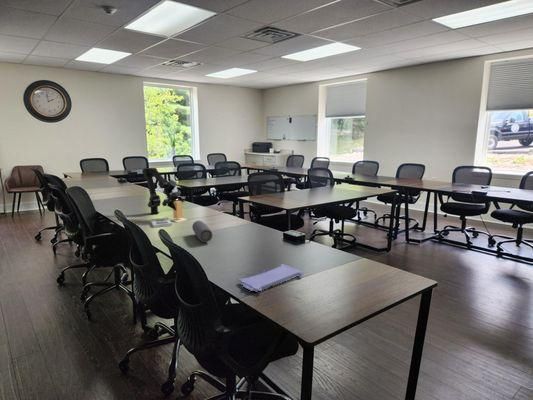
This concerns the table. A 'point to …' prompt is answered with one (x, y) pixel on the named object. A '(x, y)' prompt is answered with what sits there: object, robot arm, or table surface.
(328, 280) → the table surface
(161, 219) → the dock
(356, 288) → the table surface
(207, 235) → the bluetooth speaker
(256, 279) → the light purple flat block
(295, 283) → the table surface
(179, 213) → the module
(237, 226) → the table surface
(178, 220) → the pad
